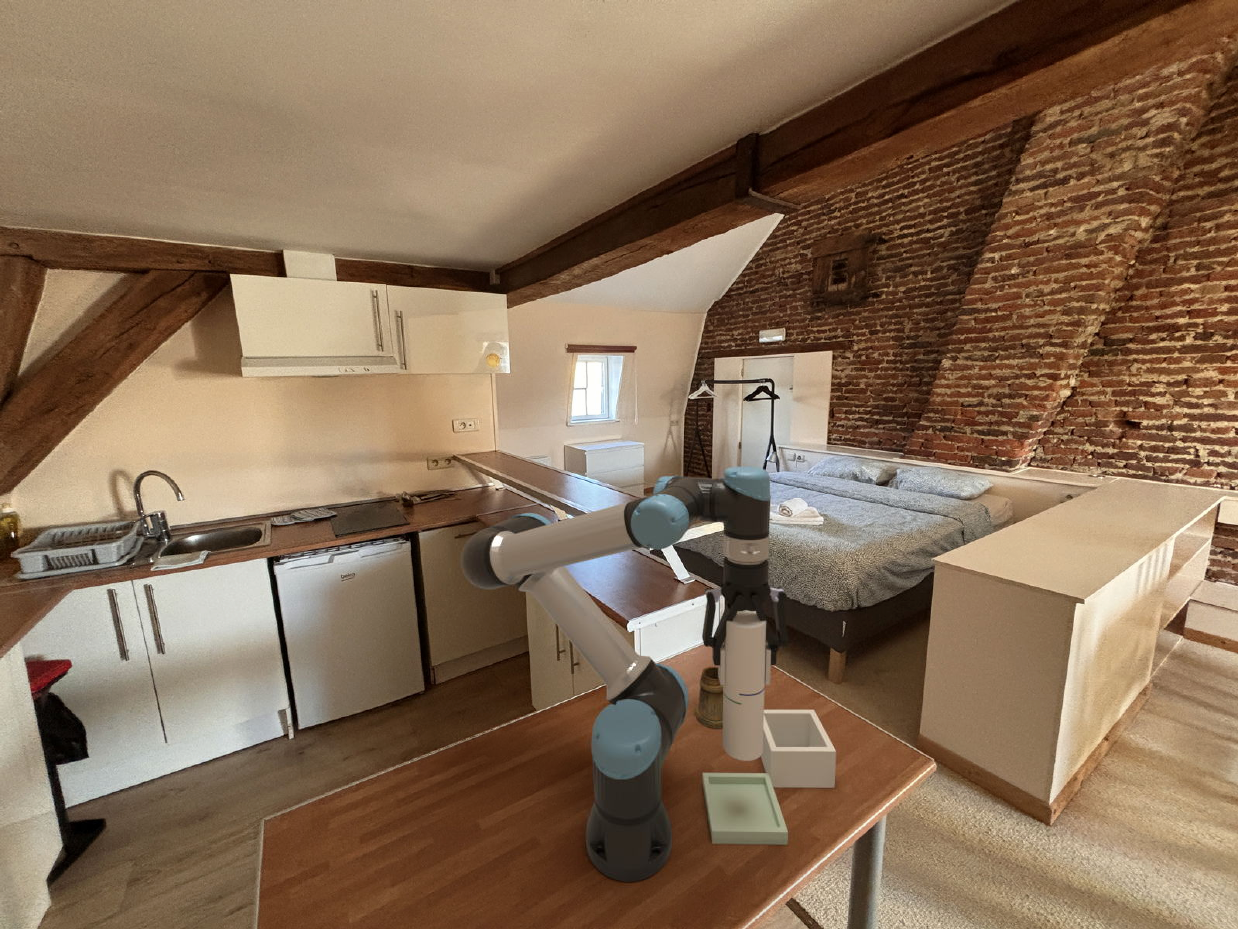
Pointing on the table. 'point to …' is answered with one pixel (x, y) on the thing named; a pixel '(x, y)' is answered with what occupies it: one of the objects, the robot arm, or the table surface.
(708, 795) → the tray
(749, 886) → the table surface
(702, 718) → the wooden mug
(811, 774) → the hollow square frame
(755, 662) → the cylindrical container
